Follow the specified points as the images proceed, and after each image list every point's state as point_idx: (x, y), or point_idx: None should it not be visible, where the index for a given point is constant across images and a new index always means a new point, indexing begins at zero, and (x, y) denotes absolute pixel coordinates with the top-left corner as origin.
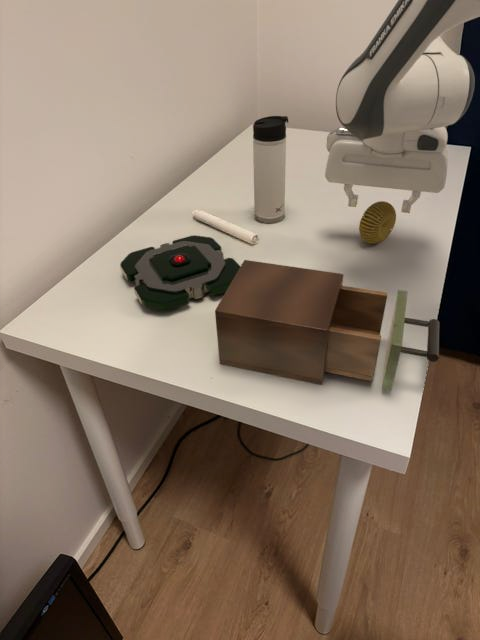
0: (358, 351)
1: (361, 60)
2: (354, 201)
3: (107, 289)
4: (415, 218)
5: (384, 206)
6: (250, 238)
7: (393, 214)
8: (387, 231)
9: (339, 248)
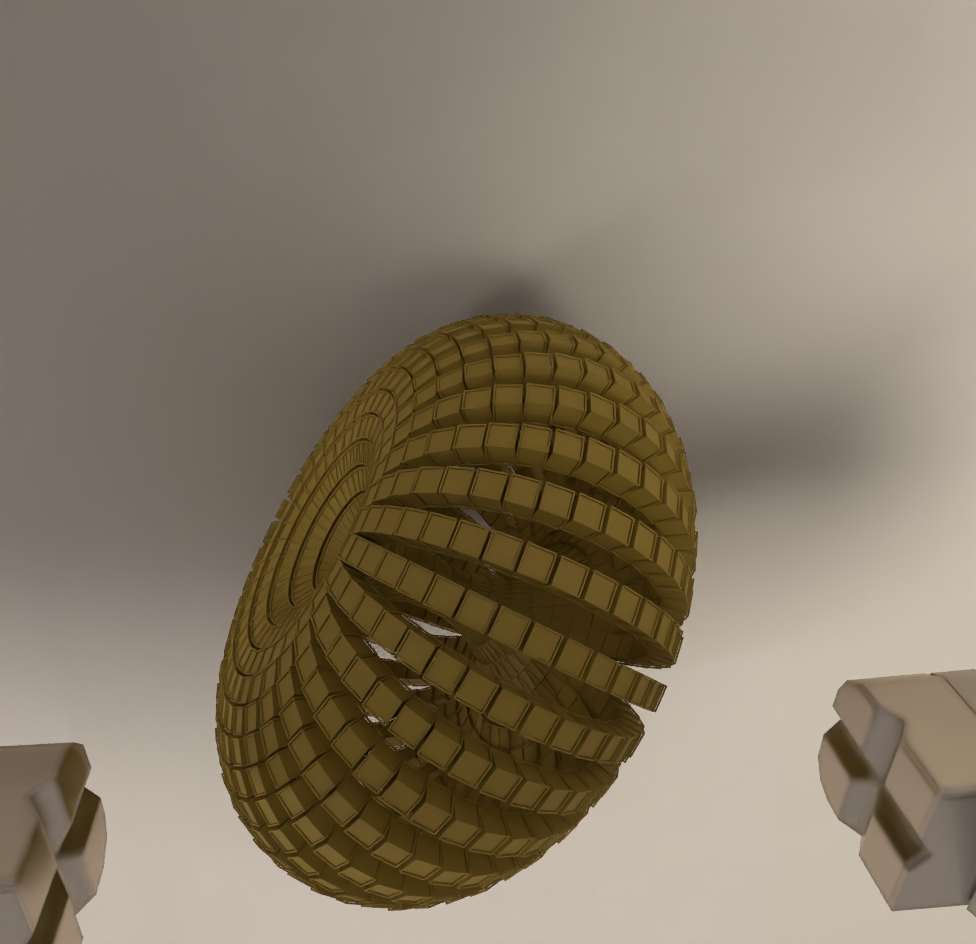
0: None
1: None
2: (945, 749)
3: None
4: (131, 886)
5: (393, 774)
6: None
7: (237, 721)
8: (293, 515)
9: (782, 218)
